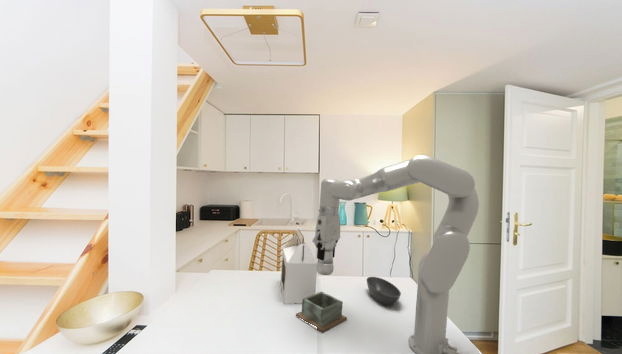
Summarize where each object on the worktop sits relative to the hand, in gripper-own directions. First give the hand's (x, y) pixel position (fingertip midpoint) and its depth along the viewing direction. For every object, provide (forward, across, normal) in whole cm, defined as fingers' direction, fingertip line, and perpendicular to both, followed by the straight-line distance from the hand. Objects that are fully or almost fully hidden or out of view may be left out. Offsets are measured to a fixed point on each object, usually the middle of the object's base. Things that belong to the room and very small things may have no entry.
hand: (325, 257), depth 103 cm
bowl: (+24, +35, -6) cm, 43 cm away
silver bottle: (+7, 0, 0) cm, 7 cm away
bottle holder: (+24, 0, 0) cm, 24 cm away
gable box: (+24, +7, +23) cm, 34 cm away
